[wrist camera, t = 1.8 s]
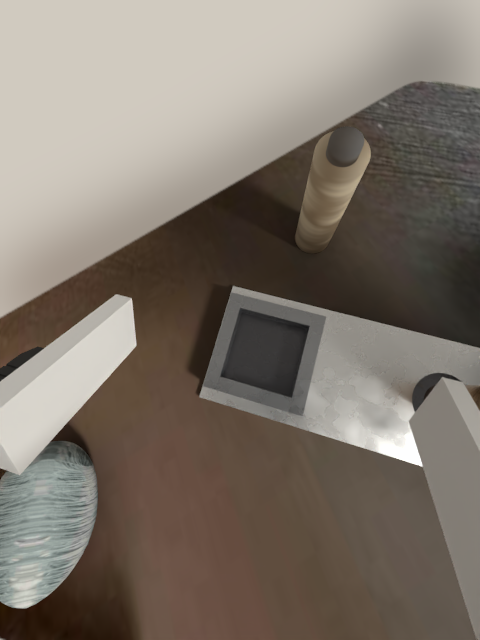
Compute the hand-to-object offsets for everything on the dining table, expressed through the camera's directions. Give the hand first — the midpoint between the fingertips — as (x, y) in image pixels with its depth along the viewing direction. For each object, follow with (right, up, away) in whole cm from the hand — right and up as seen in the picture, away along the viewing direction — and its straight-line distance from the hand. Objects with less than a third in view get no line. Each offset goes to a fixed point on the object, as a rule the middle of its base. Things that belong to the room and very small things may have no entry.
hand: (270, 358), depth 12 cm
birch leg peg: (+8, +12, +24) cm, 28 cm away
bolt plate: (+11, -5, +20) cm, 24 cm away
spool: (-21, -19, +20) cm, 35 cm away
